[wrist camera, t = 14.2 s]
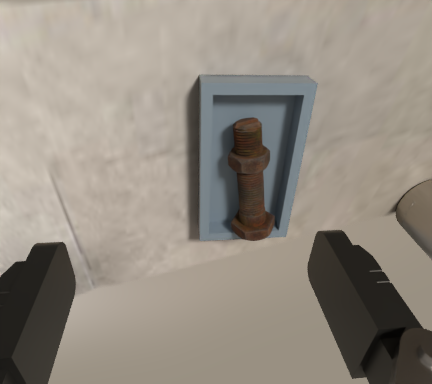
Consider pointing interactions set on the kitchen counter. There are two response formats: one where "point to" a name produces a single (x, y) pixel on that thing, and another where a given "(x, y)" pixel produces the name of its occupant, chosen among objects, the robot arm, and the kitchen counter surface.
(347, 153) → the kitchen counter surface
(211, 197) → the parts tray
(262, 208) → the bolt
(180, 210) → the kitchen counter surface
